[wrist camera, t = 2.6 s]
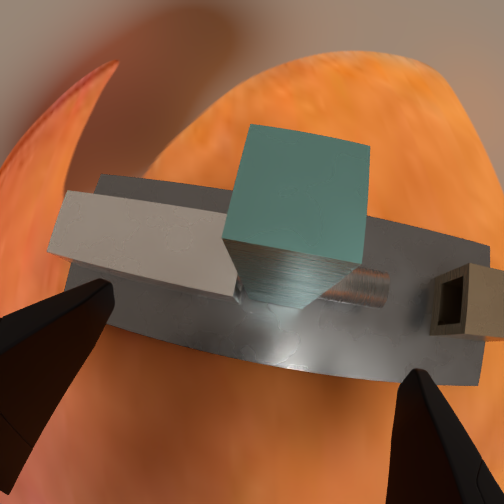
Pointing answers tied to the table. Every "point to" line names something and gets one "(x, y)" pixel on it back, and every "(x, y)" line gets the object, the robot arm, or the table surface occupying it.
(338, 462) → the table surface
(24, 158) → the table surface
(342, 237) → the sliding bolt with handle
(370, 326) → the sleeve and socket
